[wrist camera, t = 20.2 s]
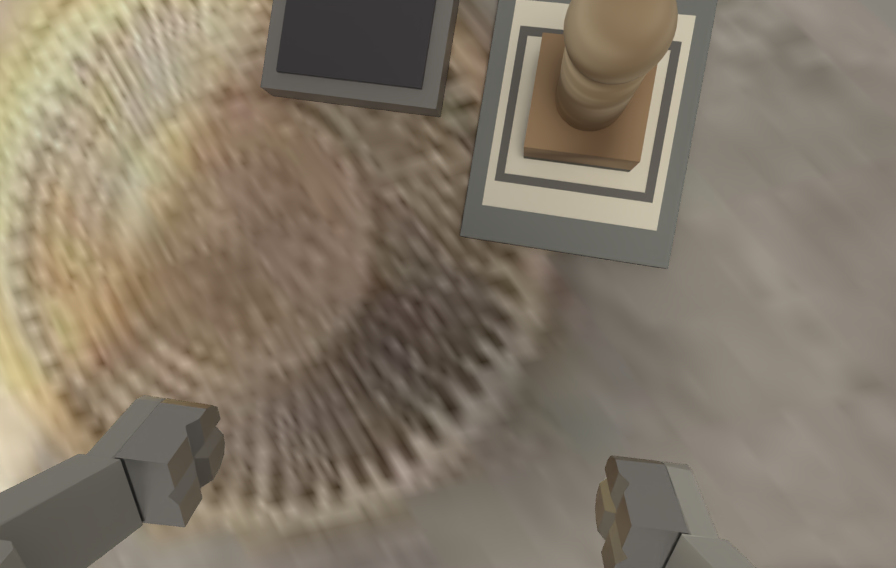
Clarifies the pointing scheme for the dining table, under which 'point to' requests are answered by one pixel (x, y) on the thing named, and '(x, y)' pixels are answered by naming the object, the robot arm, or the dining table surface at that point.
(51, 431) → the dining table surface
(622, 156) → the hand stamp
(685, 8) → the document board
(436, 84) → the ink pad
